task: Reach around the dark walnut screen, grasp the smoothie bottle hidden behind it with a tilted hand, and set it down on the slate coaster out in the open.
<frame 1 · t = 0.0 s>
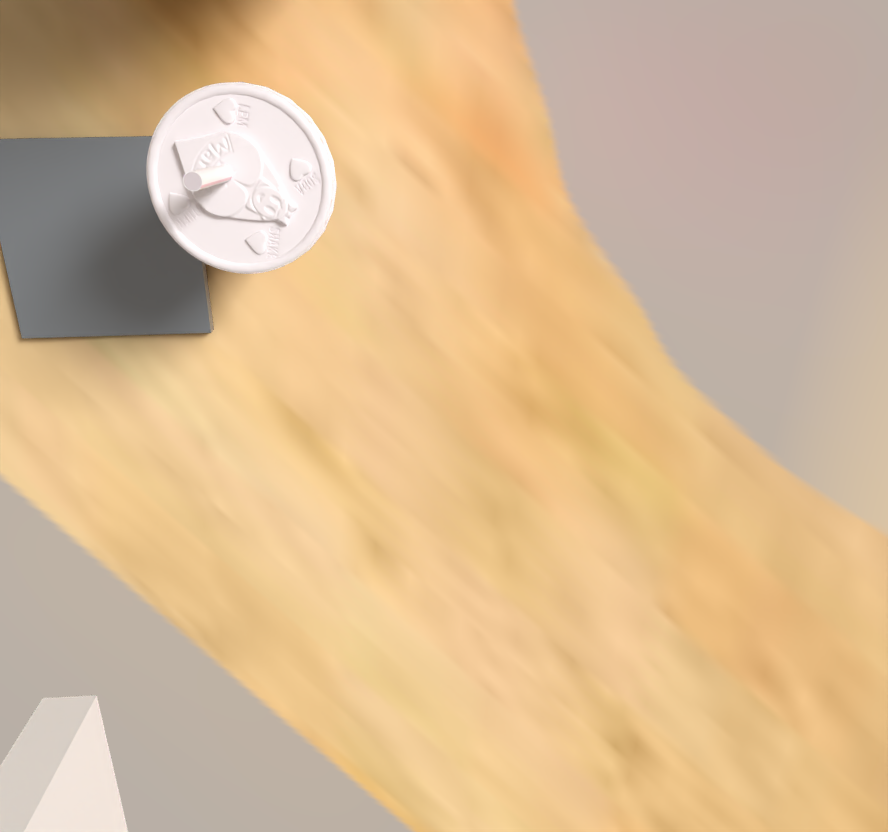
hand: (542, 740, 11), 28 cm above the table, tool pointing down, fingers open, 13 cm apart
coaster: (105, 239, 35), on the table
smoothie: (281, 168, 35), on the table
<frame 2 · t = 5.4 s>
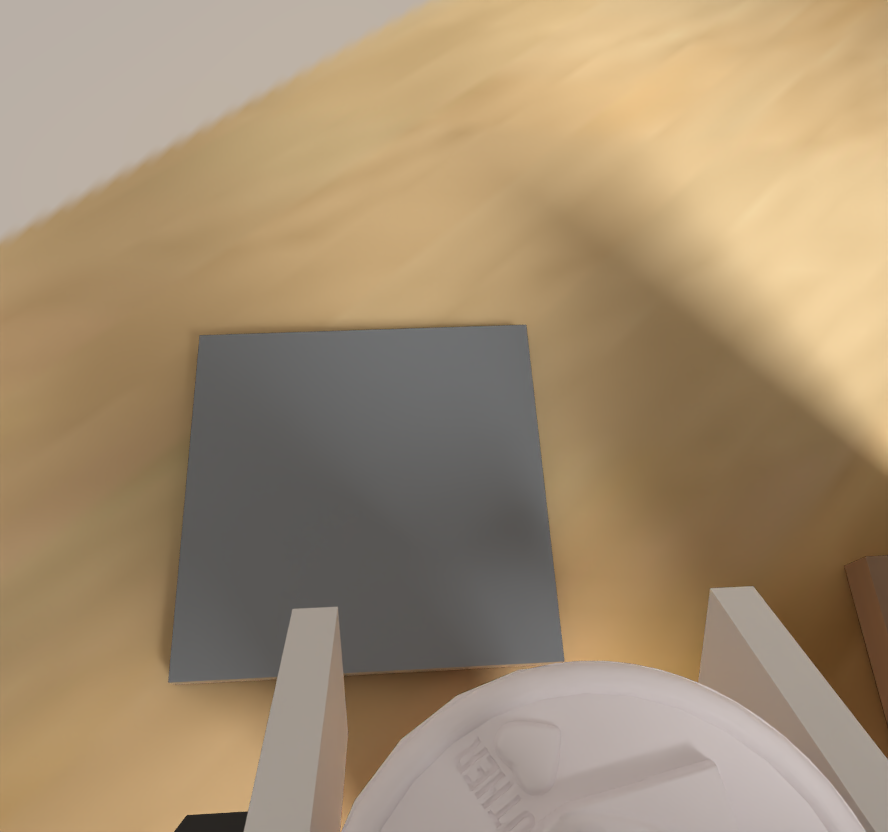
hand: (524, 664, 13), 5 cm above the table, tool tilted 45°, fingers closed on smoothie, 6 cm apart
coaster: (368, 491, 19), on the table
when the fingers open (7 cm above the table, at t = 10.0 s): smoothie drops 1 cm, resting on coaster.
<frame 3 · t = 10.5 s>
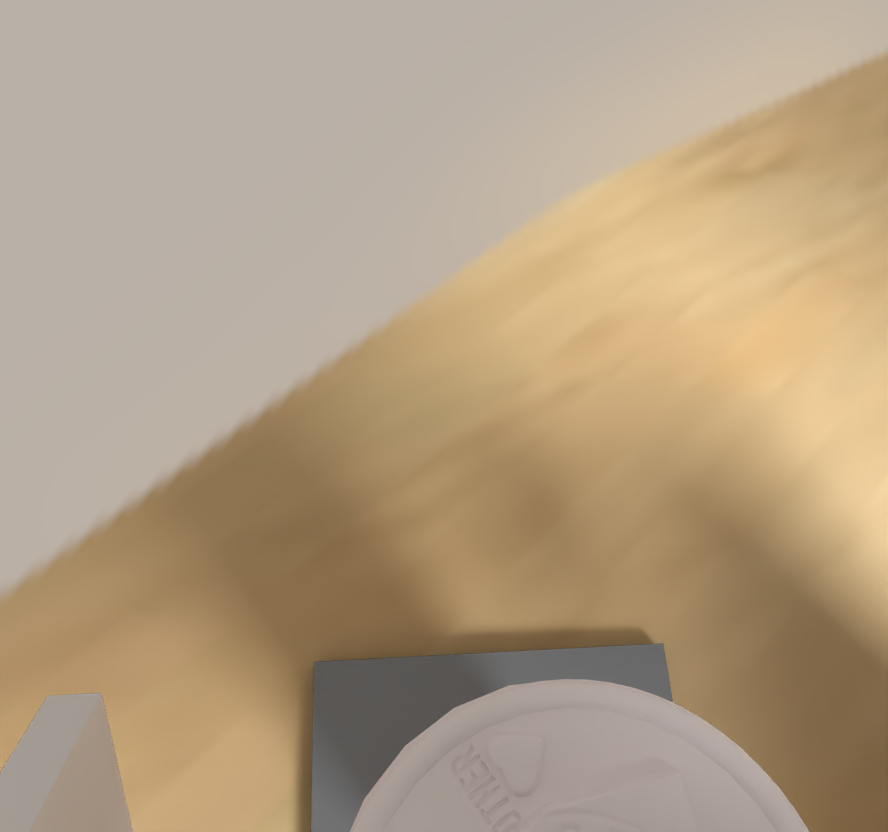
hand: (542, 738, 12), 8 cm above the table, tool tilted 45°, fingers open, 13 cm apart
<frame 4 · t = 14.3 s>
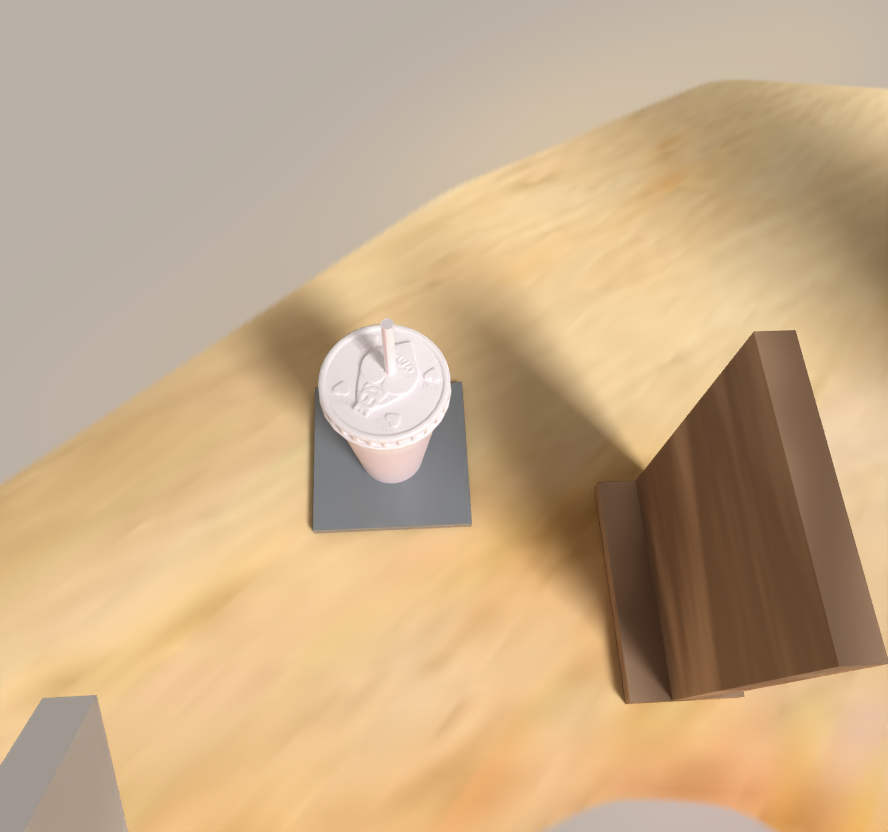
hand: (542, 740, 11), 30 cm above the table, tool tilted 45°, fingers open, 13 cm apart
screen: (662, 587, 42), on the table
coaster: (391, 456, 45), on the table
smoothie: (391, 455, 45), resting on coaster
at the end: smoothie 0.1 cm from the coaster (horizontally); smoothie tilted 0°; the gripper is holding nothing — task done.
